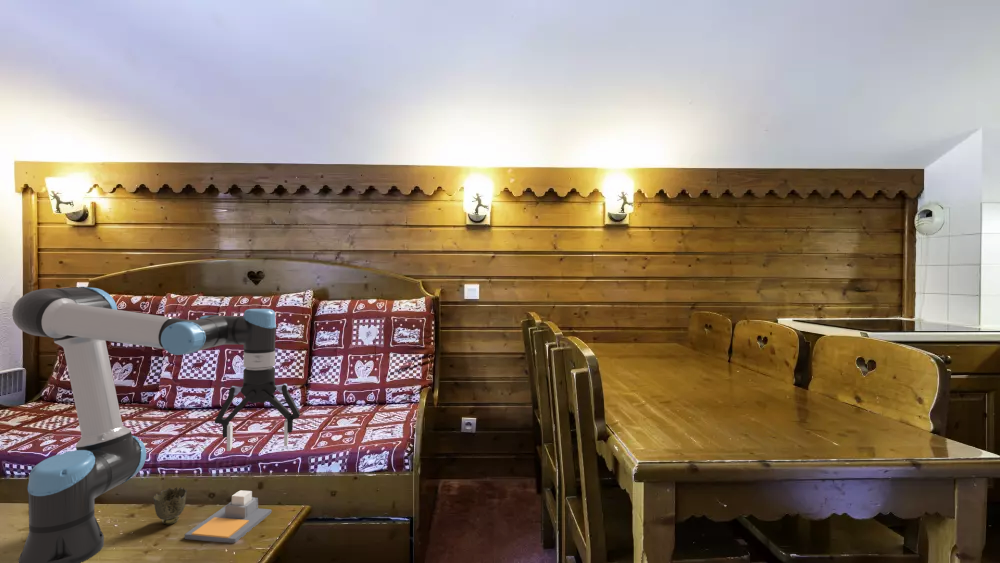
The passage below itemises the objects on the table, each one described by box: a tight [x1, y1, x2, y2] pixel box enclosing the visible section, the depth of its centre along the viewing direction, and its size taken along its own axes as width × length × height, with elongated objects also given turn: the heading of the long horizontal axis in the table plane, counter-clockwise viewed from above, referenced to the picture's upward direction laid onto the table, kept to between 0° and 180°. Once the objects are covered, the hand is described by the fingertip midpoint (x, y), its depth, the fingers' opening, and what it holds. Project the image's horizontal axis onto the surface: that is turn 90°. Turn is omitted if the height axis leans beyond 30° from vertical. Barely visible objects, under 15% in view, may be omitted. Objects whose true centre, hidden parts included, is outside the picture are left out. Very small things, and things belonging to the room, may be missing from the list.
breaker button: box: [231, 490, 253, 506], centre depth 133 cm, size 4×3×3 cm
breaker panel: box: [184, 496, 272, 544], centre depth 128 cm, size 14×15×4 cm
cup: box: [152, 486, 188, 526], centre depth 130 cm, size 8×7×8 cm
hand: (258, 446), depth 128 cm, fingers open, 13 cm apart
